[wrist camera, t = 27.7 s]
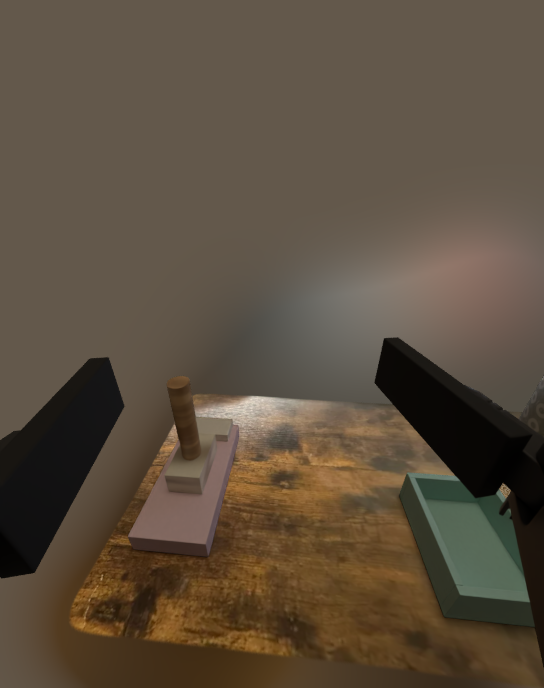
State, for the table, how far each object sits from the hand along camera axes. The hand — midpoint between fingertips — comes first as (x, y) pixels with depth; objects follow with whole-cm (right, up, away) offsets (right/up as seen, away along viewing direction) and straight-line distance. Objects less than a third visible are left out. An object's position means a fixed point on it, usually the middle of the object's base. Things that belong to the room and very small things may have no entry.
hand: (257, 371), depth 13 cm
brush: (-11, -18, +28) cm, 35 cm away
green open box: (+26, -25, +21) cm, 42 cm away
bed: (-11, -21, +29) cm, 38 cm away
